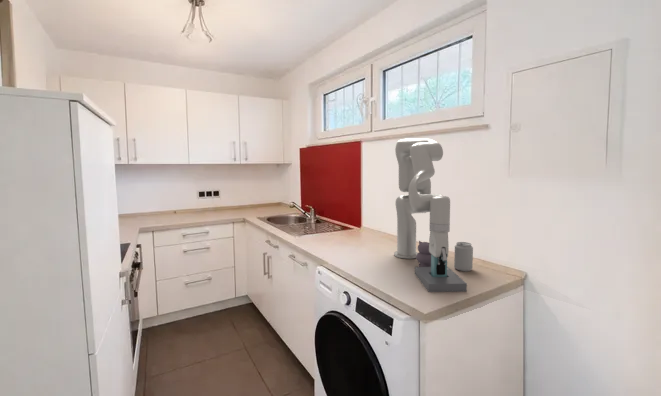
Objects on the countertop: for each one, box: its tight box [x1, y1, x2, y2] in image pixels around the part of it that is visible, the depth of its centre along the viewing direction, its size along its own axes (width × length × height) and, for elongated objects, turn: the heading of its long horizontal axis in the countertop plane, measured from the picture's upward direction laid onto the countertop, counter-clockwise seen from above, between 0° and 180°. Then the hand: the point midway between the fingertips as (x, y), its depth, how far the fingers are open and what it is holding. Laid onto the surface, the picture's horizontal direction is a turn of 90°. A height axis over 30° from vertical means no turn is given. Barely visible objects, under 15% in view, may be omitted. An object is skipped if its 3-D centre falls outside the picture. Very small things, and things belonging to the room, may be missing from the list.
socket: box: [414, 266, 468, 293], centre depth 126 cm, size 20×14×4 cm
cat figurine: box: [415, 240, 432, 267], centre depth 144 cm, size 8×8×12 cm
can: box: [453, 241, 474, 272], centre depth 141 cm, size 8×8×12 cm
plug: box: [431, 255, 448, 277], centre depth 126 cm, size 4×5×10 cm
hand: (438, 271), depth 126 cm, fingers open, 4 cm apart
